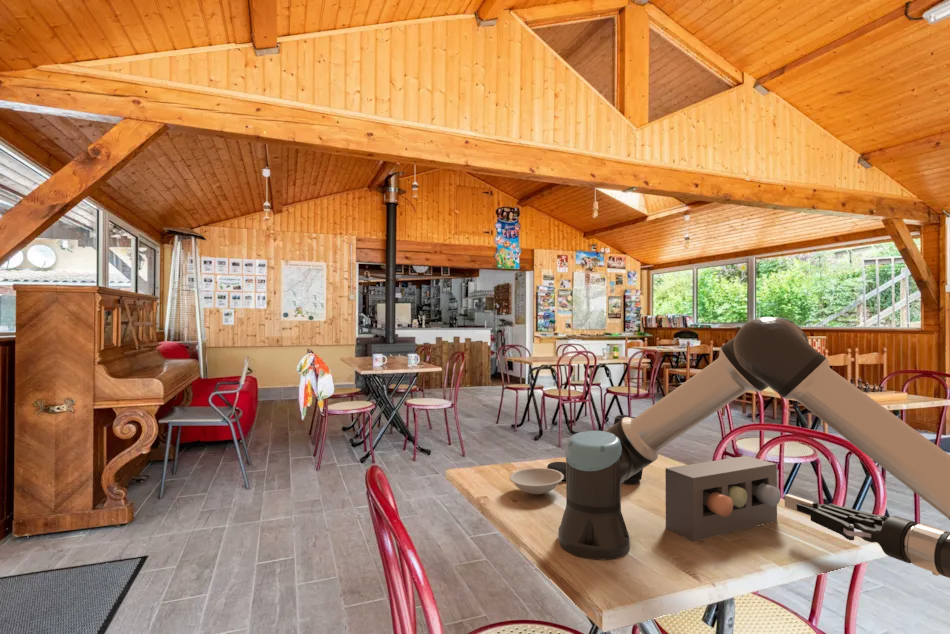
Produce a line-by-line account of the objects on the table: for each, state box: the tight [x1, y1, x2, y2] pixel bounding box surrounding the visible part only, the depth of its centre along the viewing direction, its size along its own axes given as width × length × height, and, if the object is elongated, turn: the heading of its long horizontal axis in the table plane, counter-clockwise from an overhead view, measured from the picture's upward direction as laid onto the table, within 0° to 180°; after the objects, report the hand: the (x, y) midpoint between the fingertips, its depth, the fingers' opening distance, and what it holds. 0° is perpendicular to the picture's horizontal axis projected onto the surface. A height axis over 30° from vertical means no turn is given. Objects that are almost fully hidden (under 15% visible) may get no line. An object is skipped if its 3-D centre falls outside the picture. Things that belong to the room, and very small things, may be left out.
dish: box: [509, 467, 564, 495], centre depth 137 cm, size 18×14×5 cm
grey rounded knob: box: [752, 483, 781, 506], centre depth 115 cm, size 4×6×4 cm
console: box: [665, 455, 778, 542], centre depth 116 cm, size 28×8×14 cm, turn 114°
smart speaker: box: [546, 461, 566, 480], centre depth 152 cm, size 9×9×4 cm
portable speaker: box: [613, 414, 644, 485], centre depth 149 cm, size 9×9×20 cm
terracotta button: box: [703, 492, 733, 517], centre depth 109 cm, size 4×6×4 cm
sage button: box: [715, 485, 747, 507], centre depth 114 cm, size 4×6×4 cm
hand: (786, 500), depth 109 cm, fingers closed
